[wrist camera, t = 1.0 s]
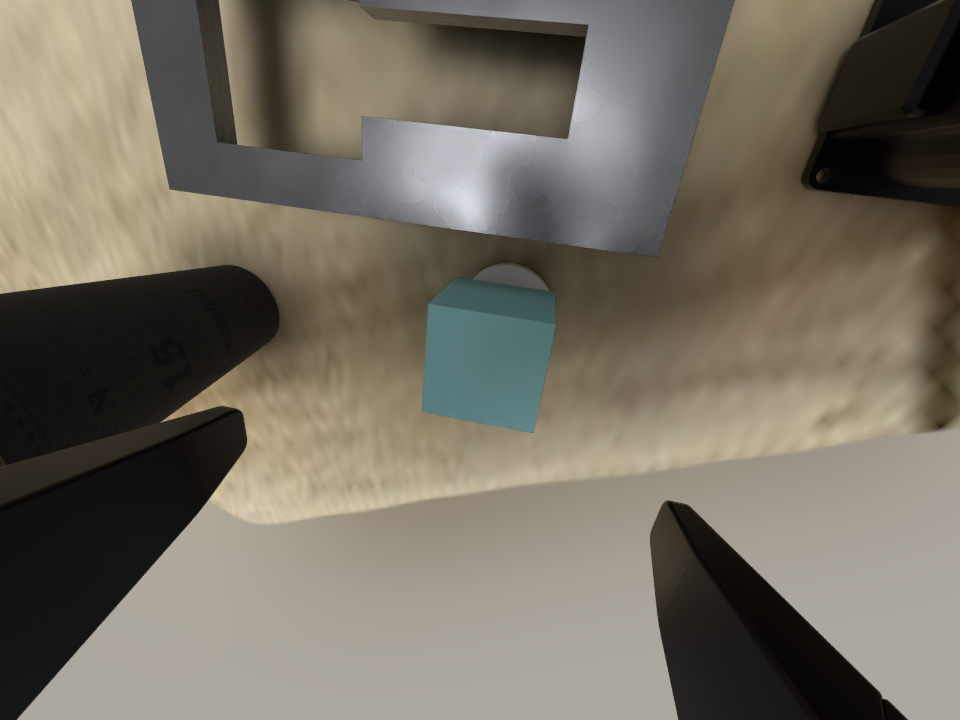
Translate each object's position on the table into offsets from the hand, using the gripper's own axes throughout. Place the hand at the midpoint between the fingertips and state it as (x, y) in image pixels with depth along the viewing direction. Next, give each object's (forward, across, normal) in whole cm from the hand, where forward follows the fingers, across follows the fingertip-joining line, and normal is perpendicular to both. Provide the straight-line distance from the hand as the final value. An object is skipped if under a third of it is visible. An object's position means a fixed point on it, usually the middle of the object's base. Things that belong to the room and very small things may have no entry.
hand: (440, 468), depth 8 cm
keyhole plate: (+13, +4, -8) cm, 16 cm away
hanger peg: (+13, 0, 0) cm, 13 cm away
